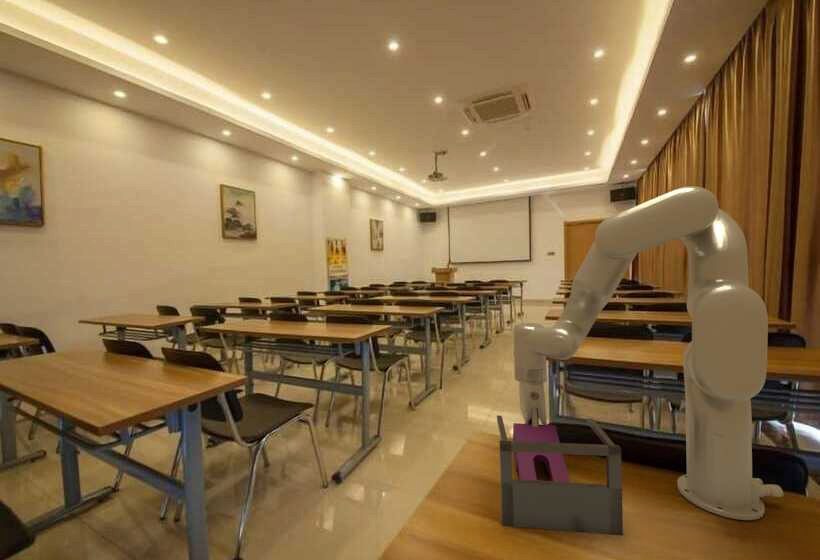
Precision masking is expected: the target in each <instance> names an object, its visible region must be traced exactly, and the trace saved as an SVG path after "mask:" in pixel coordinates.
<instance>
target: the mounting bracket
mask: <svg viewBox="0 0 820 560" xmlns="http://www.w3.org/2000/svg"><path fill="white" fill-rule="evenodd" d="M512 425H513V428H512V441H524V442H549V443H561V442H560V439H559V436H558V435H559V434H558V431H557V427H556V426H557V425H554V424H546V425H543V424H540V423H539V424H538V426H532V424H525V423H515V422H513V424H512ZM513 459H514V461H513V462H514V466H515V469H516V470H518V478H519V480H536V481H538V480H537V474H536V467H535V463H536V462H542V463H545V467H546V469H547V472H548V473H549V477H550V481H553V482H570V478H569V473H568V470H567V467H566V462H565V458H564V454H556V453H535V452H513ZM570 483H571V482H570Z"/></svg>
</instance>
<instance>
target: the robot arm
mask: <svg viewBox="0 0 820 560" xmlns="http://www.w3.org/2000/svg"><path fill="white" fill-rule="evenodd" d="M739 225H740V224H738V223H737V221H736V220H735V219H734V218H733V217H731V216H730V215H729V214H728V213H727V212H725V211H724V210H722V209H721V208H719V201H718V199H717V197H716V196H715V194H713V192H711V191H710V190H709V189H707V188H704V187H702V186H696V185H695V186H694V185H692V186H689V185H688V186H684V187H683V186H682V187H678V188H675V189H672V190H671V191H668V192H666V193H664V194H661V195H658V196H656V197H654V198H651V199H649V200H647V201H645V202H642V203H640V204H637V205H635V206H633V207H630V208H628V209H626V210H623V211H621V212H618V213H616V214H614V215H613V214H612V215H611V216H609V217H607V218H605V219H603V220H602V221H601V222H600V224H598V226H597V227H596V230H595V232H594V241H593V243H592V245H591V246H590V248H589V251H587V254H586V256H585V258H584V260H583V261H582V263H581V265H580V267H579V269H578V270H577V272H576V273H575V276H574V278H573V280H572V282H571V291H570V295H569V298H568V299H567V302H566V304H565V306H564V308H563V310H562V312H561V314H560V315H559V318H557V321H556V323H555V324H554V325H553V326H550V327H545V326H544V325H542V324H540V323H535V322H520V323H518V324H516V325H515V326H514V327H513V357H514V359H513V360H514V361H513V362H514V363H513V365H514V367H513V368H514V370H513V371H514V380H515V381H517V382H518V383H519V384H518V387H519V388H518V389H519V391H518V392H519V409H520V411H521V415H522V418H523V420H524V424H532V426H538V424H540V423H541V425H547V423H548V421H547V408H546V394H545V393H546V392H545V385H544V383H546V382H547V381H548V379H547V377H548V376H547V357H548V358H551V359H555V360H556V359H557V360H568V359H570V358H572V357H574V356H575V355H576V353H577V352H578V350H579V349H580V347H581V346H582V345H583V343H584V341H585V339H586V337H587V336H588V334H589V332H590V330H592V329H591V328H592V327H593V325H594V323H595V322H596V320H597V318H598V316H599V315H600V313H601V312H602V310H603V309H604V308H605V306H607V304H608V303H609V302H610V300H611V298H612V297H613V296H614V295H613V294H614V293H615V292H616V290H617V288H618V286H619V285H620V283H621V281H622V280H623V278H624V275H625V274H626V272H627V271H628V269H629V268H630V266H631V265H632V262H634V259H635V257H636V256H637V254H638V253H640V252H643V251H646V250H648V249H649V250H650V249H652V248H655V247H657V246H661V245H663V244H667V243H669V242H672V241H674V240H677V239H680V240H681V241H682V242H683V243H684V244H685V247H686V250H687V255H688V256H687V258H688V260H687V261H688V262H687V263H688V289H687V290H688V292H687V298H686V299H687V300H686V309H687V313H688V314H689V316H690V318H691V341H690V342H689V343H688V344H686V347H685V349H684V352H683V354H682V355H683V358H682V366H683V367H682V368H683V379H684V381H683V382H684V392H685V395H684V397H685V442H686V443H685V444H686V445H685V446H686V447H685V448H686V449H685V451H686V455H685V456H686V474H682V475H681V476H680V477H678V478H677V482H676V483H677V484H676V486H677V489H678V491H679V493H680V494H681V495H682V496H683V497H684V498H685V499H687V500H688V501H689V502H690V503H692V504H694V505H695V506H697V507H699V508H701V509H702V510H705V511H707V512H709V513H712V514H715V515H718V516H721V517H724V518H728V519H733V520H741V521H754V520H755V521H756V520H759V519H761V518H762V517H763V516H764V515H765V511H766V510H765V504H764V503H763V501H762V500H761V499H760V498H764V497H765V496H768V497H778V498H783V497H784V491H783V489H782V488H781V486H780V485H778V484H767V483H766V484H764V482H763V480H762V479H761V478H760V477H759V478H758V477H757V478H756V477H753V452H752V447H753V445H752V443H753V442H752V441H753V440H752V427H753V426H752V420H753V419H752V403H751V399H752V398H754V397H756V396H757V395H758V394H759V393H760V391H761V390H763V388H764V386H765V383H766V380H767V379H766V378H767V371H768V369H767V368H768V345H769V344H768V339H769V336H768V334H769V332H768V330H769V328H768V327H769V321H768V319H769V317H768V311H767V307H766V305H765V302H764V301H763V299H762V297H761V296H760V295H759V294H758V292H756V291H755V290H753V289H752V288H750V287H749V259H748V256H749V255H748V245H747V242H746V237H745V234H744V232H743V230H742V228H741V227H740V226H739ZM539 422H540V423H539ZM763 514H764V515H763ZM760 517H761V518H760Z"/></svg>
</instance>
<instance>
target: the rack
mask: <svg viewBox="0 0 820 560" xmlns="http://www.w3.org/2000/svg"><path fill="white" fill-rule="evenodd" d="M586 420H587V421H586V424H587V425H588V426H589V427H590V428H591V429H592V431H593V432H594V434H596V436H597V438H599V439H600V441H601V443H602V444H597V443H596V444H593V443H592V444H591V443H570V442H567V443H566V442H560V443H549V442H524V441H513V440H508V436H507V431H506V428H505V423H504V419H503V416H502V415H496V422H497V426H498V432H499V436H500V440H499V442H498V444H499V446H498V447H499V470H500V471H499V474H500V479H499V480H500V504H501V505H500V506H501V509H500V510H501V525H502V526H504V527H516V528H527V529H540V530H552V531H553V530H554V531H564V532H565V531H566V532H578V533H579V532H581V533H590V534H592V533H593V534H603V535H618V536H624V528H623V527H624V524H623V523H624V521H623V517H624V515H623V514H624V513H623V479H622V478H623V477H622V476H623V475H622V474H623V472H622V447H621V446H620V445H619V444H618V445H617V444H615V443H614V441H613V440H612V439H611V438H610V437H609V436H608V435H607V433H605V431H604V430H603V429H602V428H601V426H599V424H598V423H597V422H596V420H594V418H592V417H590V418H589V417H587V419H586ZM512 452H513V453H514V452H535V453H556V454H563V455H582V456H602V457H603V456H605V458H606V461H605V462H606V484H599V483H586V482H585V483H584V482H553V481H551V480H549V481H548V480H537V481H536V480H520V479H517V478H516V479H515V478H514V479H513V453H512Z"/></svg>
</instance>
